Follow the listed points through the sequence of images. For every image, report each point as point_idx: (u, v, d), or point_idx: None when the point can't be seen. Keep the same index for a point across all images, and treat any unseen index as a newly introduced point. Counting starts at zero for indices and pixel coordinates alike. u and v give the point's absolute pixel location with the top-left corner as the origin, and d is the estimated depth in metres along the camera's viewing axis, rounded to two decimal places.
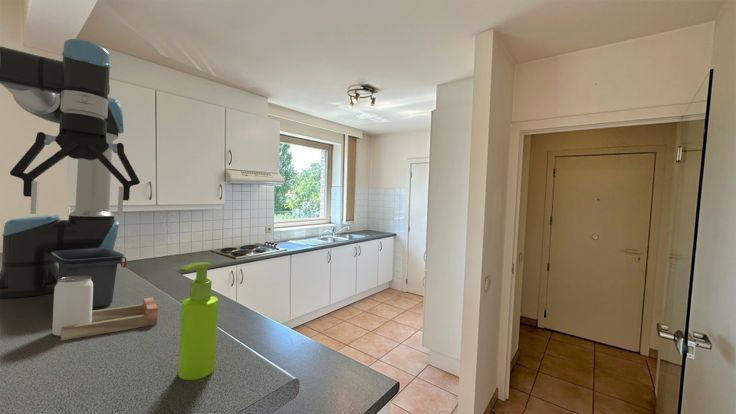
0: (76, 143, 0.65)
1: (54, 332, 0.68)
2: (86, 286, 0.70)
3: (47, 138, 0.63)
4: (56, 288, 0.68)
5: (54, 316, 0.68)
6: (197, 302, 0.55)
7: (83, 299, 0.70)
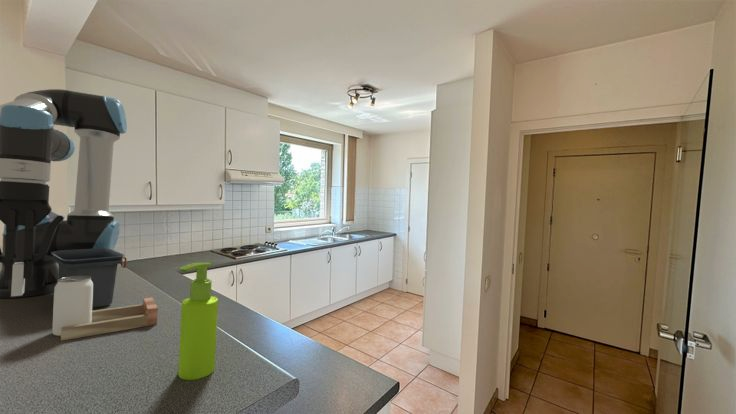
0: (12, 211, 0.63)
1: (54, 332, 0.68)
2: (86, 286, 0.70)
3: None
4: (56, 288, 0.68)
5: (54, 316, 0.68)
6: (197, 302, 0.55)
7: (83, 299, 0.70)
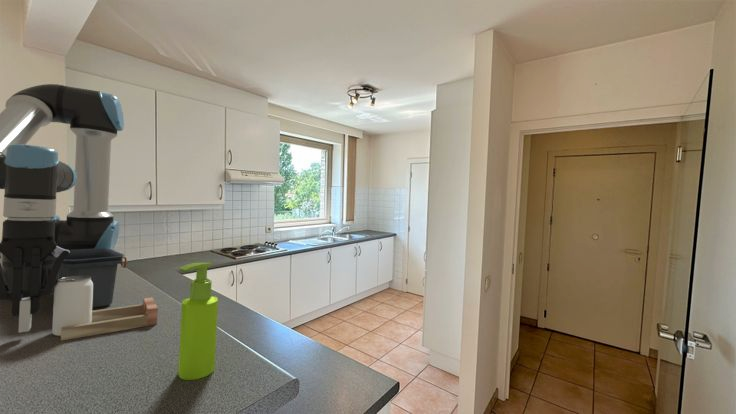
0: (18, 249, 0.64)
1: (54, 332, 0.68)
2: (86, 286, 0.70)
3: None
4: (56, 288, 0.68)
5: (54, 316, 0.68)
6: (197, 302, 0.55)
7: (83, 299, 0.70)
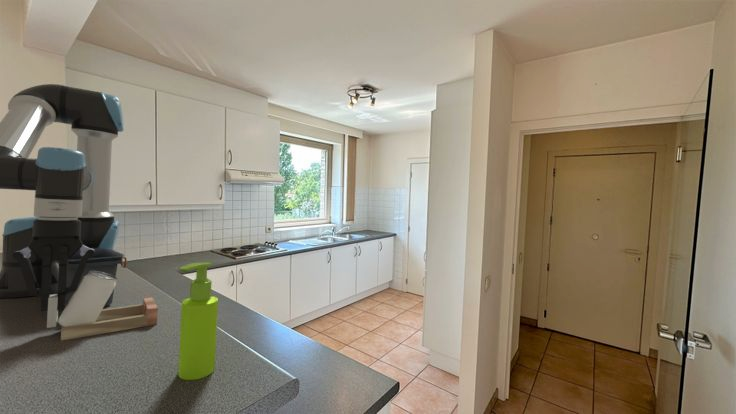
0: (48, 247, 0.66)
1: (61, 321, 0.68)
2: (110, 286, 0.73)
3: (24, 253, 0.65)
4: (85, 279, 0.71)
5: (69, 305, 0.69)
6: (197, 302, 0.55)
7: (102, 297, 0.72)
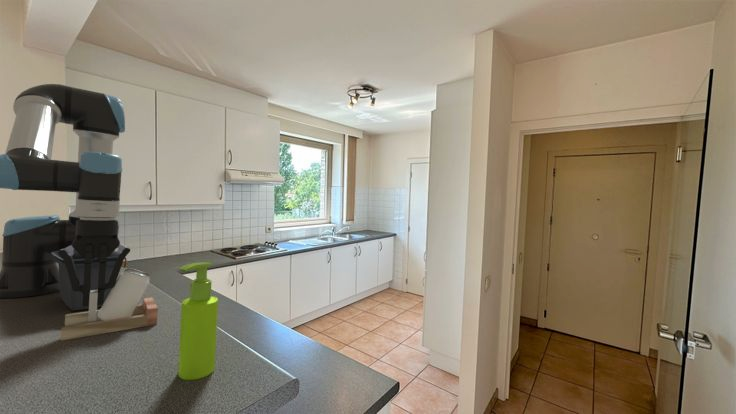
0: (89, 246, 0.71)
1: (100, 315, 0.72)
2: (145, 282, 0.77)
3: (68, 251, 0.69)
4: (122, 276, 0.75)
5: (107, 301, 0.73)
6: (197, 302, 0.55)
7: (138, 293, 0.76)
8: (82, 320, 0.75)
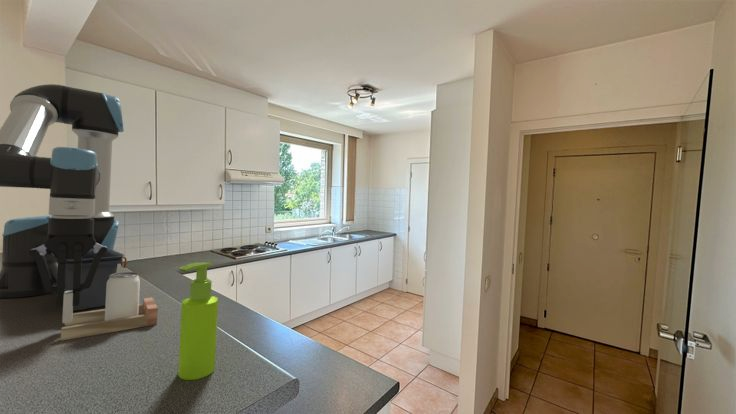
0: (63, 245, 0.68)
1: None
2: (135, 281, 0.76)
3: (39, 250, 0.67)
4: (109, 283, 0.73)
5: (107, 309, 0.73)
6: (197, 302, 0.55)
7: (133, 293, 0.76)
8: (82, 320, 0.75)
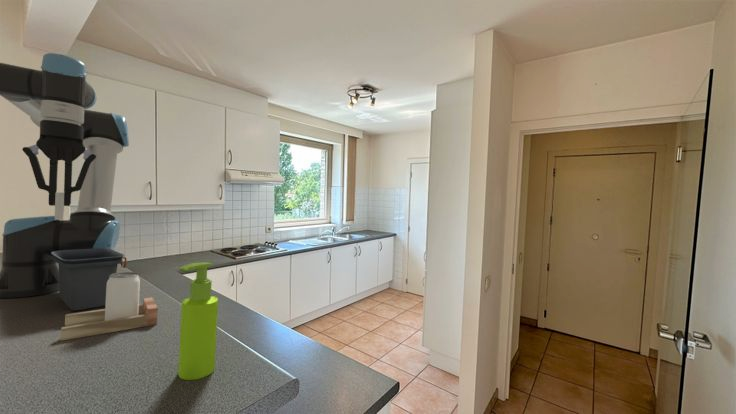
0: (54, 146, 0.73)
1: None
2: (135, 281, 0.76)
3: (32, 149, 0.72)
4: (109, 283, 0.73)
5: (107, 309, 0.73)
6: (198, 302, 0.55)
7: (133, 293, 0.76)
8: (82, 320, 0.75)
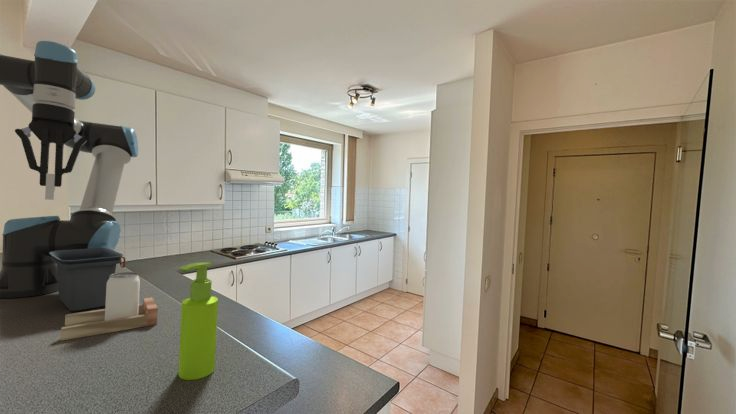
0: (45, 128, 0.77)
1: None
2: (135, 281, 0.76)
3: (24, 131, 0.75)
4: (109, 283, 0.73)
5: (107, 309, 0.73)
6: (198, 302, 0.55)
7: (133, 293, 0.76)
8: (82, 320, 0.75)
